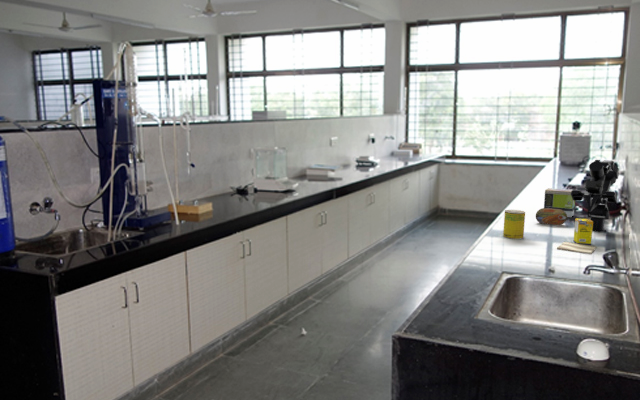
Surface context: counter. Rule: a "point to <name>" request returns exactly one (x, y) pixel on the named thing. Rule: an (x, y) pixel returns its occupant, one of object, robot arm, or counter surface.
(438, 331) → the counter surface
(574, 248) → the birch board
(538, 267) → the counter surface
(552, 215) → the tin
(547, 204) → the tea box
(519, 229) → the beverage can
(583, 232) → the supplement box
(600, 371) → the counter surface
